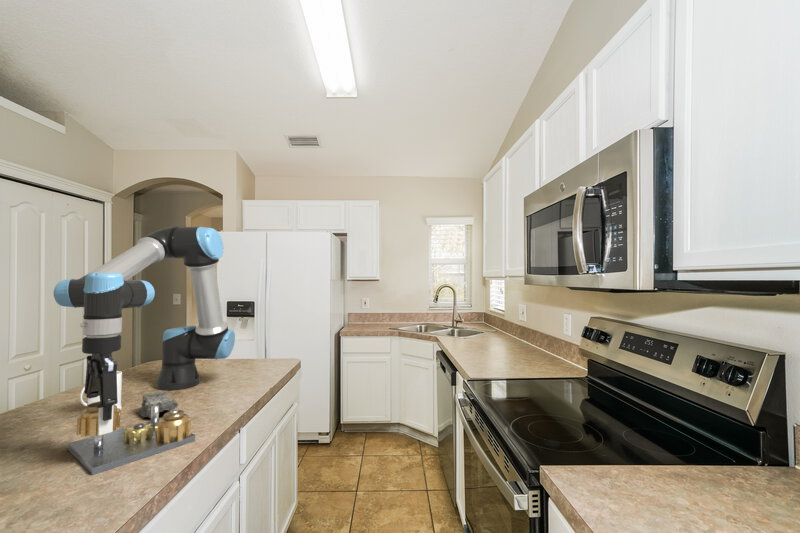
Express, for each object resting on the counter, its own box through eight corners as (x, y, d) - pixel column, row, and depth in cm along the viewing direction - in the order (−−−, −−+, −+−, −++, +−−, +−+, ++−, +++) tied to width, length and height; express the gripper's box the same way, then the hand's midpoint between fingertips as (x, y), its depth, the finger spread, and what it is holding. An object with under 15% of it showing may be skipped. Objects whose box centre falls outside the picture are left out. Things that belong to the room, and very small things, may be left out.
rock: (180, 414, 120) (181, 393, 120) (152, 423, 113) (152, 401, 113) (157, 406, 127) (157, 387, 127) (128, 415, 119) (128, 394, 119)
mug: (85, 421, 113) (87, 381, 114) (70, 416, 117) (71, 377, 117) (127, 408, 124) (128, 372, 124) (111, 405, 127) (113, 369, 128)
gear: (113, 420, 98) (114, 396, 98) (124, 428, 93) (125, 403, 93) (72, 430, 91) (73, 404, 91) (82, 439, 86) (83, 412, 86)
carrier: (163, 422, 113) (164, 394, 113) (196, 441, 101) (197, 410, 101) (67, 449, 95) (68, 416, 96) (93, 475, 83) (94, 437, 83)
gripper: (70, 332, 96) (67, 422, 95) (97, 342, 83) (93, 445, 83) (106, 329, 102) (103, 414, 101) (136, 338, 89) (133, 434, 89)
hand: (99, 428), depth 92 cm, fingers closed on gear, 8 cm apart
